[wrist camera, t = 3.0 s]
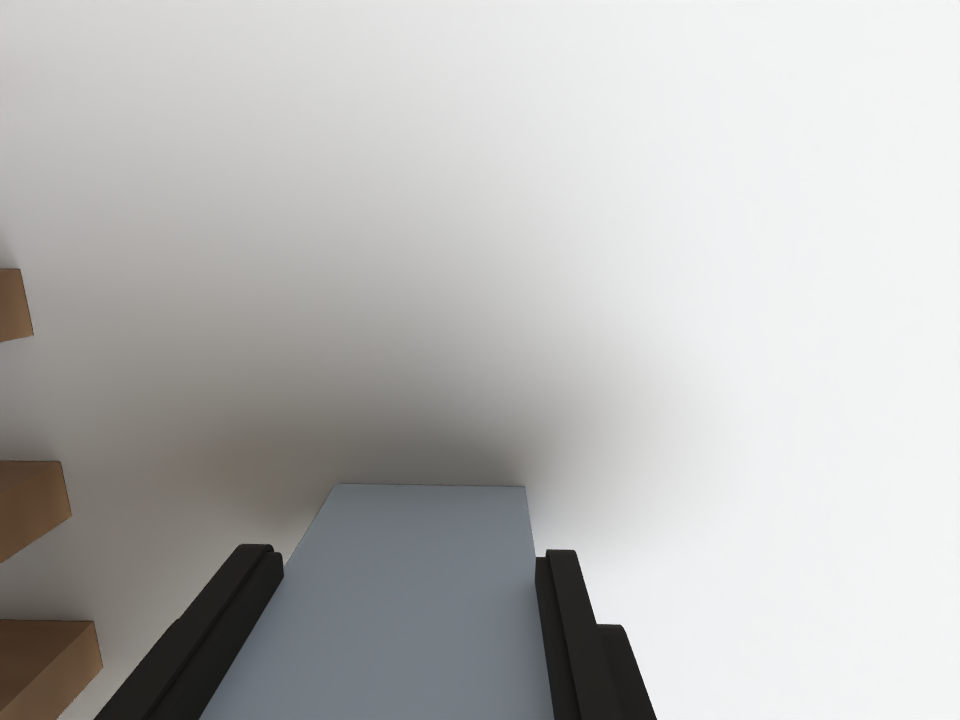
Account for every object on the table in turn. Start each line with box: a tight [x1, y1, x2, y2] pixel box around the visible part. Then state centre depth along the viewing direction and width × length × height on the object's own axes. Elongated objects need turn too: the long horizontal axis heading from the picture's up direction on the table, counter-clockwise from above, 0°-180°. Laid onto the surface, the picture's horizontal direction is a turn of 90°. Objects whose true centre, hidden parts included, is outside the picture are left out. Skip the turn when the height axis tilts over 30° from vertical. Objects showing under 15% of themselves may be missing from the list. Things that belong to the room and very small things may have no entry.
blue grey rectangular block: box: [199, 484, 554, 720], centre depth 9 cm, size 2×5×9 cm, turn 89°
